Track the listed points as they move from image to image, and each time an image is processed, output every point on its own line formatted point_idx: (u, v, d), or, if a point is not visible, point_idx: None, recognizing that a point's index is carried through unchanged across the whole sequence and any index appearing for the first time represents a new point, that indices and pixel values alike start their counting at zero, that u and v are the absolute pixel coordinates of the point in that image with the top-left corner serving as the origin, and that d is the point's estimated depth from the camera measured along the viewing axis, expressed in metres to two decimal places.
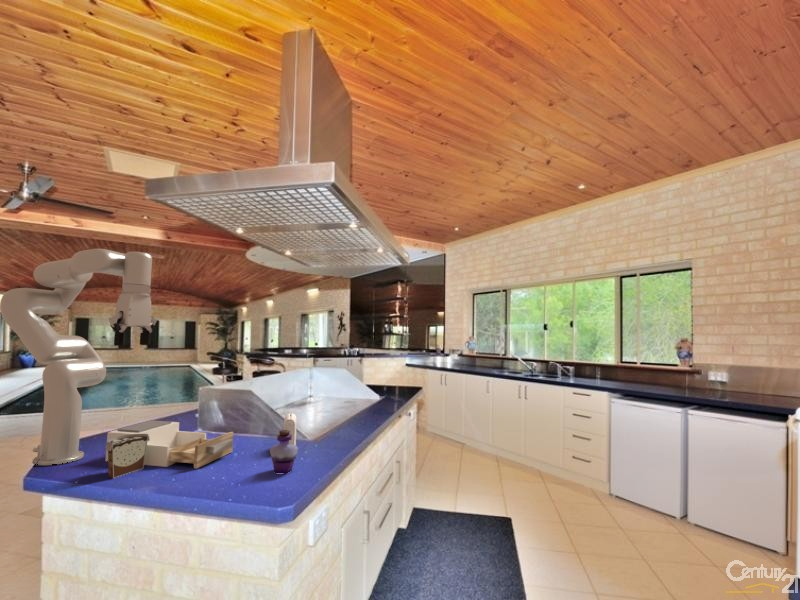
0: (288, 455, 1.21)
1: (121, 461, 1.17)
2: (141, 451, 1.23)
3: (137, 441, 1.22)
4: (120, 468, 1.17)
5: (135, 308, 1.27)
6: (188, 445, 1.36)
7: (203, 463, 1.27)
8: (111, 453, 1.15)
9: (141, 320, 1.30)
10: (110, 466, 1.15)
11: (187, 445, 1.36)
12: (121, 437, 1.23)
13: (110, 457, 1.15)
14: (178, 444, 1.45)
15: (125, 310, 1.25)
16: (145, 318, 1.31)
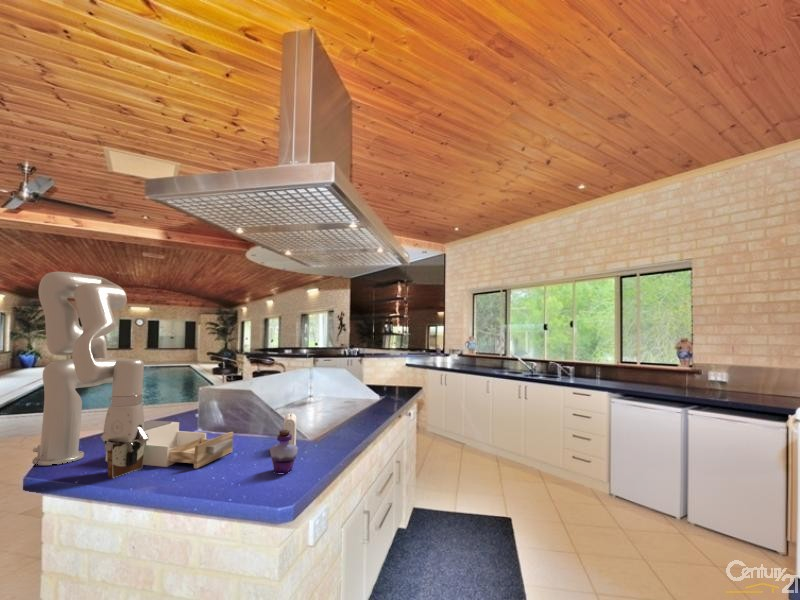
0: (288, 455, 1.21)
1: (120, 461, 1.17)
2: (140, 451, 1.23)
3: None
4: (120, 468, 1.17)
5: None
6: (188, 445, 1.36)
7: (203, 463, 1.27)
8: (111, 453, 1.15)
9: None
10: (109, 466, 1.15)
11: (187, 445, 1.36)
12: None
13: (109, 456, 1.15)
14: (178, 444, 1.45)
15: (142, 423, 1.22)
16: None
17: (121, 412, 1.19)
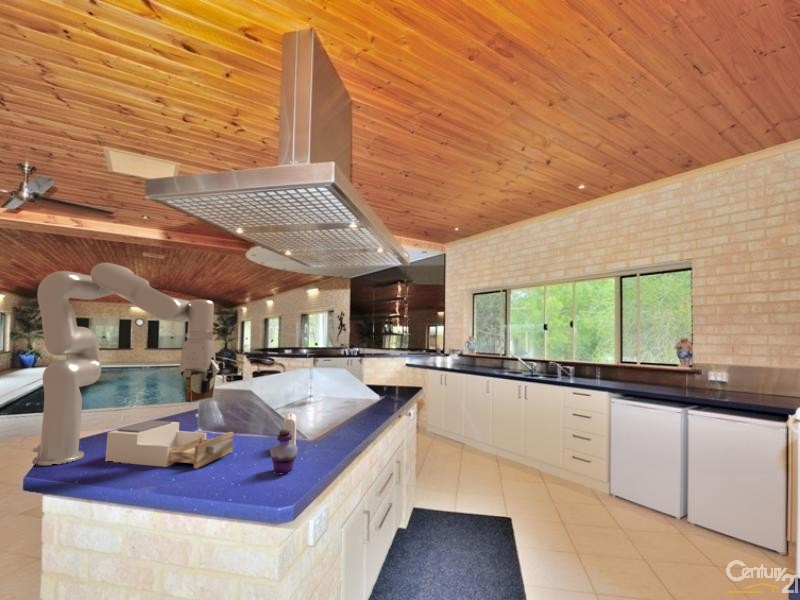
0: (288, 455, 1.21)
1: (197, 388, 1.32)
2: (211, 382, 1.38)
3: None
4: (196, 394, 1.31)
5: None
6: (188, 445, 1.36)
7: (203, 463, 1.27)
8: (189, 379, 1.29)
9: None
10: (188, 391, 1.30)
11: (187, 445, 1.36)
12: None
13: (188, 383, 1.30)
14: (178, 444, 1.45)
15: (214, 356, 1.36)
16: None
17: (196, 345, 1.33)
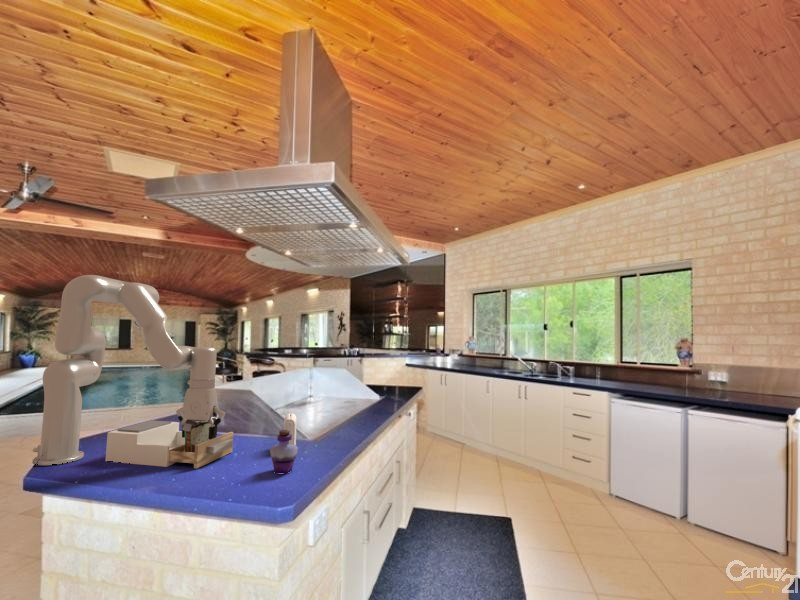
0: (288, 455, 1.21)
1: (196, 441, 1.31)
2: None
3: (208, 424, 1.36)
4: None
5: None
6: None
7: (203, 463, 1.27)
8: (189, 433, 1.29)
9: None
10: (188, 445, 1.29)
11: None
12: None
13: (188, 437, 1.29)
14: (178, 444, 1.45)
15: (216, 404, 1.36)
16: None
17: (199, 394, 1.33)
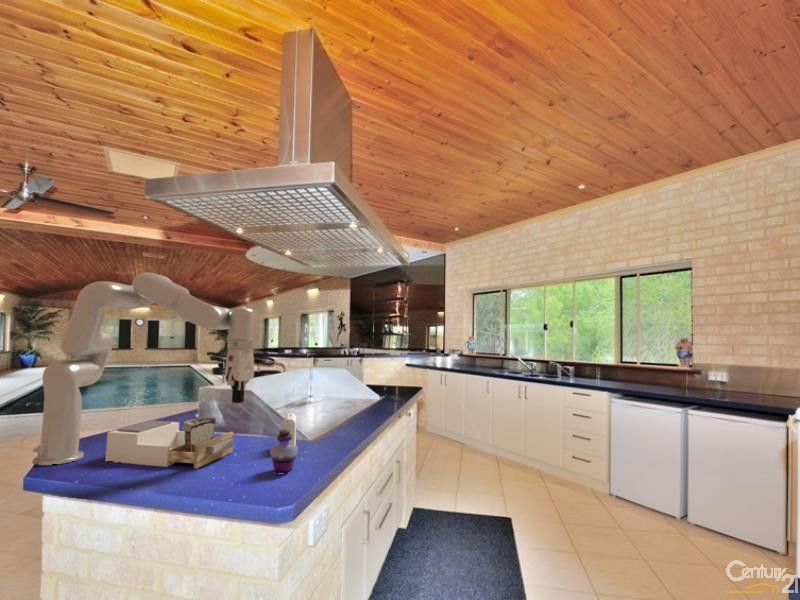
0: (288, 455, 1.21)
1: (196, 441, 1.32)
2: (210, 433, 1.38)
3: (208, 424, 1.36)
4: None
5: None
6: None
7: (203, 463, 1.27)
8: (189, 433, 1.29)
9: None
10: (188, 445, 1.29)
11: None
12: (192, 420, 1.37)
13: (188, 437, 1.29)
14: (178, 444, 1.45)
15: None
16: None
17: (249, 354, 1.35)
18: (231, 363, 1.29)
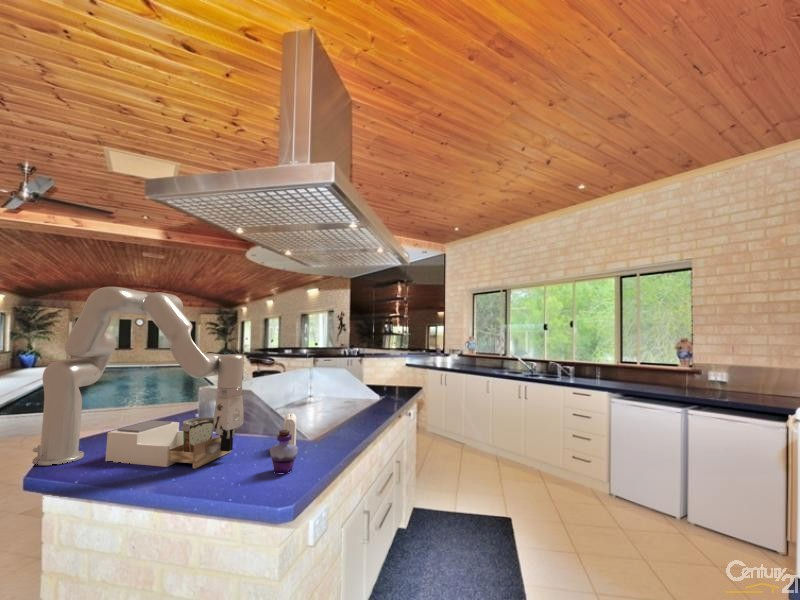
0: (288, 455, 1.21)
1: (195, 441, 1.32)
2: (209, 433, 1.38)
3: (206, 424, 1.36)
4: None
5: None
6: None
7: (202, 463, 1.27)
8: (188, 433, 1.29)
9: None
10: (186, 445, 1.30)
11: None
12: (191, 420, 1.37)
13: (187, 437, 1.29)
14: (178, 444, 1.45)
15: None
16: None
17: (238, 401, 1.34)
18: (220, 412, 1.29)
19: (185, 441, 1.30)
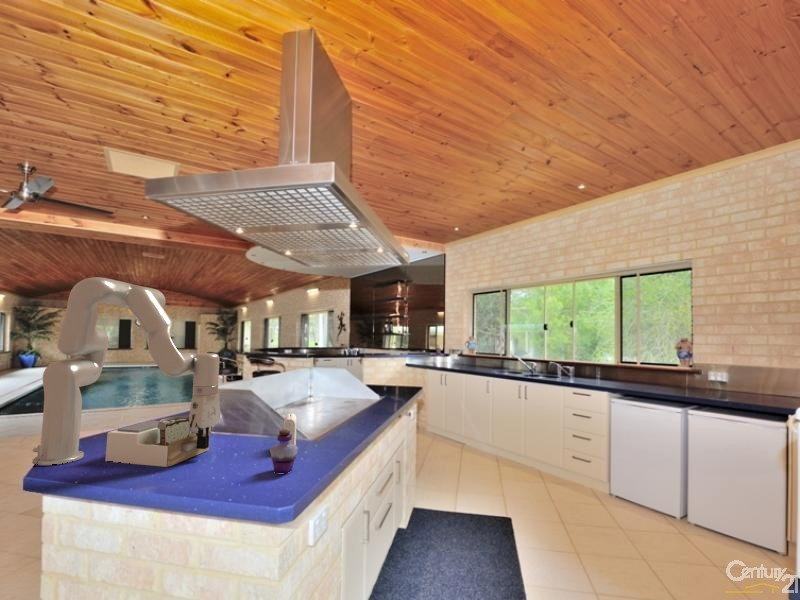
0: (288, 455, 1.21)
1: (171, 439, 1.33)
2: (186, 431, 1.39)
3: (183, 422, 1.38)
4: None
5: None
6: None
7: (177, 461, 1.29)
8: (164, 432, 1.31)
9: None
10: (163, 443, 1.31)
11: None
12: (168, 419, 1.39)
13: (163, 435, 1.31)
14: None
15: None
16: None
17: (214, 399, 1.36)
18: (195, 410, 1.30)
19: (161, 439, 1.32)
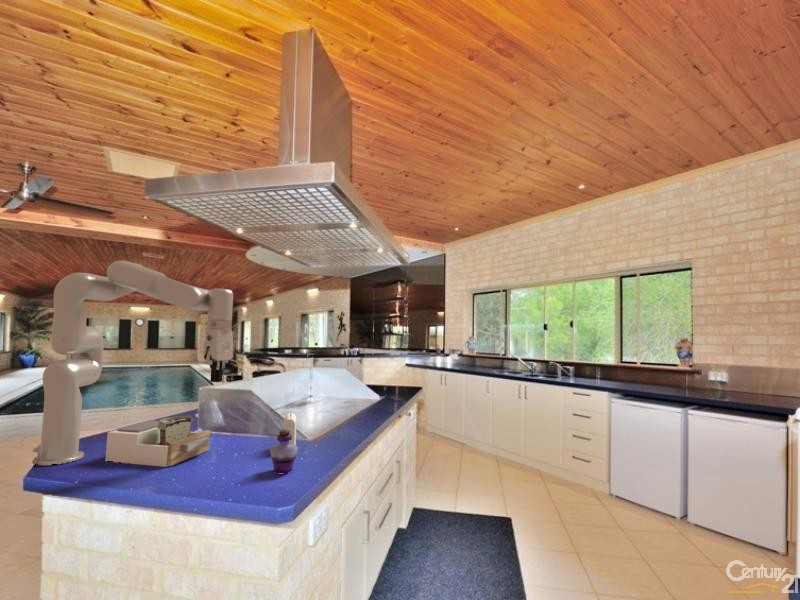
0: (288, 455, 1.21)
1: (171, 439, 1.33)
2: (186, 431, 1.39)
3: (184, 422, 1.38)
4: None
5: None
6: None
7: (177, 461, 1.29)
8: (164, 432, 1.31)
9: None
10: (163, 443, 1.31)
11: None
12: (169, 419, 1.38)
13: (163, 435, 1.31)
14: None
15: None
16: None
17: (228, 334, 1.37)
18: (209, 342, 1.31)
19: (161, 439, 1.32)
